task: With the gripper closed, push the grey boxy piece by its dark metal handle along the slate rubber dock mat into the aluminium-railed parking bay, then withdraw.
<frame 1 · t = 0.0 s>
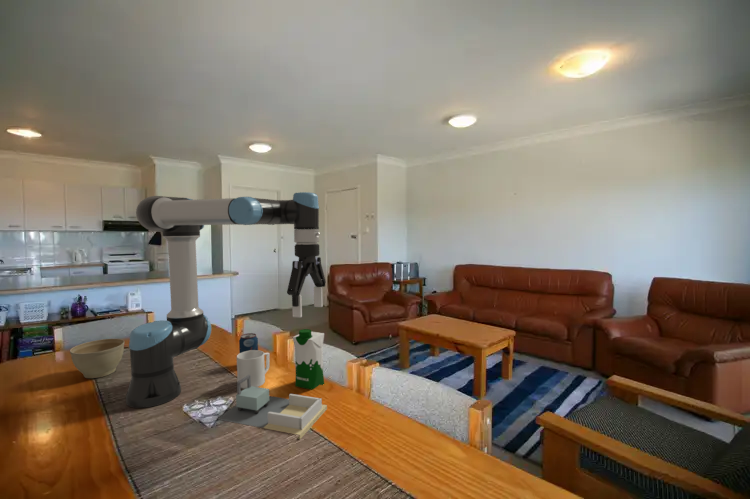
hand: (308, 311, 113), 28 cm above the table, fingers open, 13 cm apart
grey boxy piece: (253, 408, 107), point 1 cm above the table, touching dock
milk carton: (310, 387, 123), on the table
soda can: (249, 365, 143), on the table
dock: (274, 415, 105), on the table
mug: (255, 385, 125), on the table
planter bowl: (99, 374, 136), on the table
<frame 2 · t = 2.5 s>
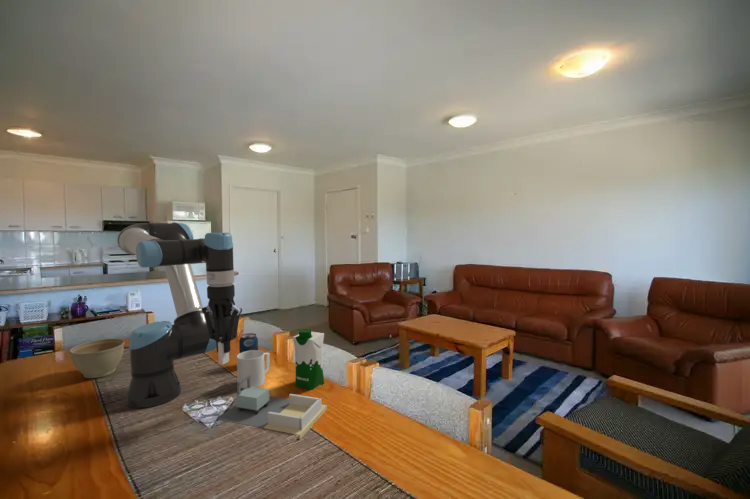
hand: (224, 362, 109), 14 cm above the table, fingers closed
nothing on the table moved.
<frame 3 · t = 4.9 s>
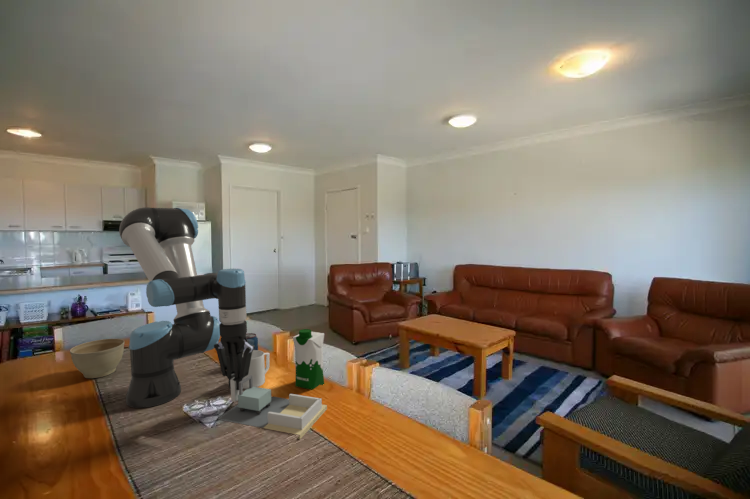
hand: (236, 399, 108), 3 cm above the table, fingers closed
nothing on the table moved.
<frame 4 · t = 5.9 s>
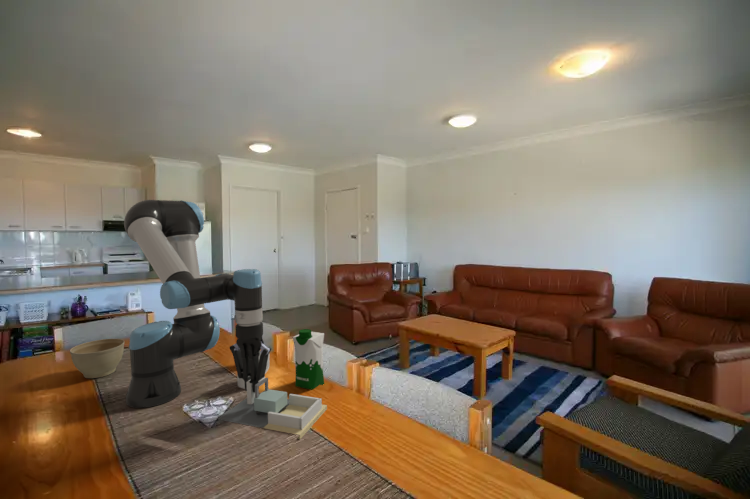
hand: (252, 401, 106), 3 cm above the table, fingers closed
grey boxy piece: (271, 411, 105), point 1 cm above the table, touching gripper
everything else where it was.
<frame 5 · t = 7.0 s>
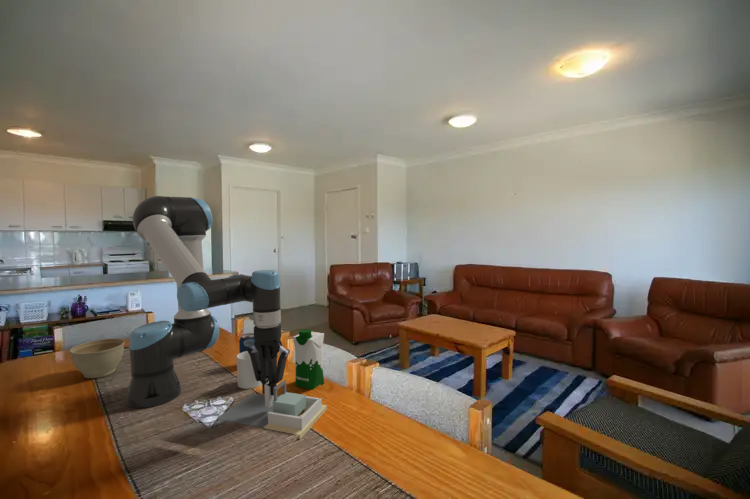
hand: (270, 404, 105), 3 cm above the table, fingers closed
grey boxy piece: (289, 415, 103), point 1 cm above the table
everything else where it was.
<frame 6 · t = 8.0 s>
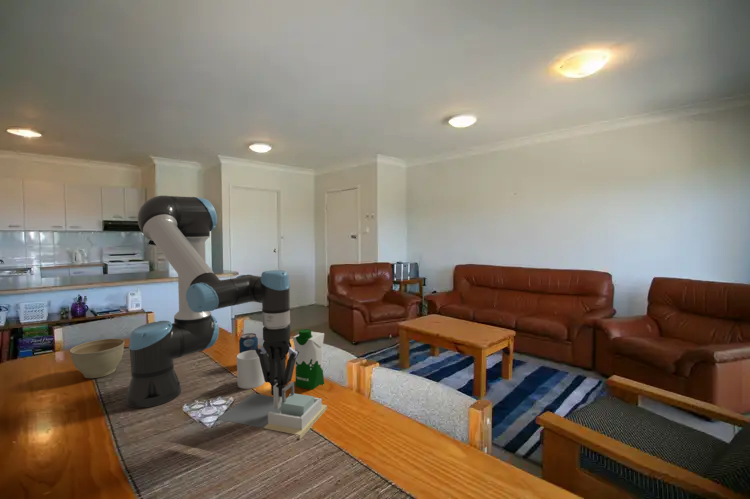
hand: (278, 406, 104), 3 cm above the table, fingers closed
grey boxy piece: (298, 416, 102), point 1 cm above the table, touching dock, gripper
everything else where it was.
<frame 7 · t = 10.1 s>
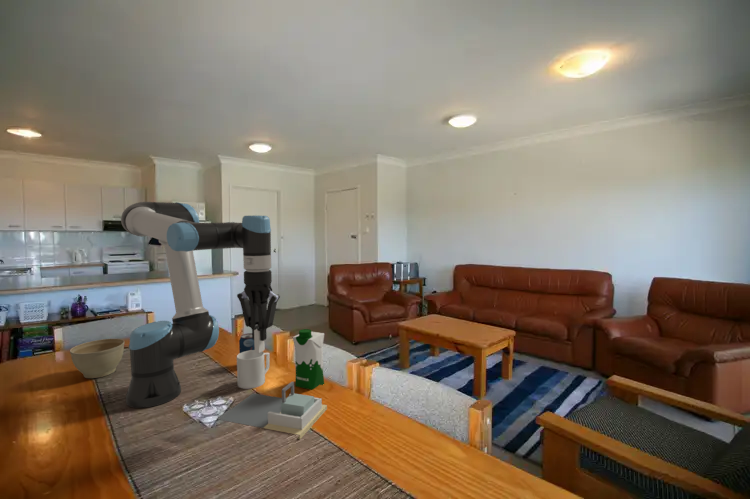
hand: (259, 350, 105), 19 cm above the table, fingers closed
grey boxy piece: (298, 416, 102), point 1 cm above the table, touching dock
everything else where it was.
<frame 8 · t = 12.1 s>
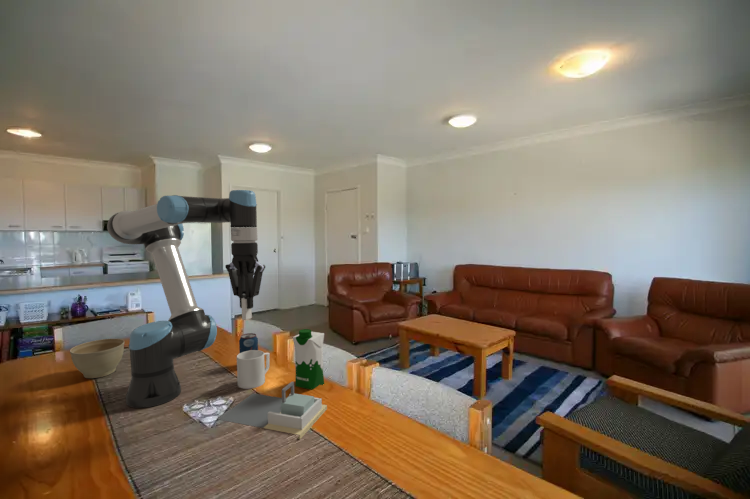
hand: (247, 318, 111), 26 cm above the table, fingers closed
nothing on the table moved.
at the end: grey boxy piece inside the target area (0.7 cm from its centre), point 1.2 cm above the table; grey boxy piece tilted 0° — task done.
